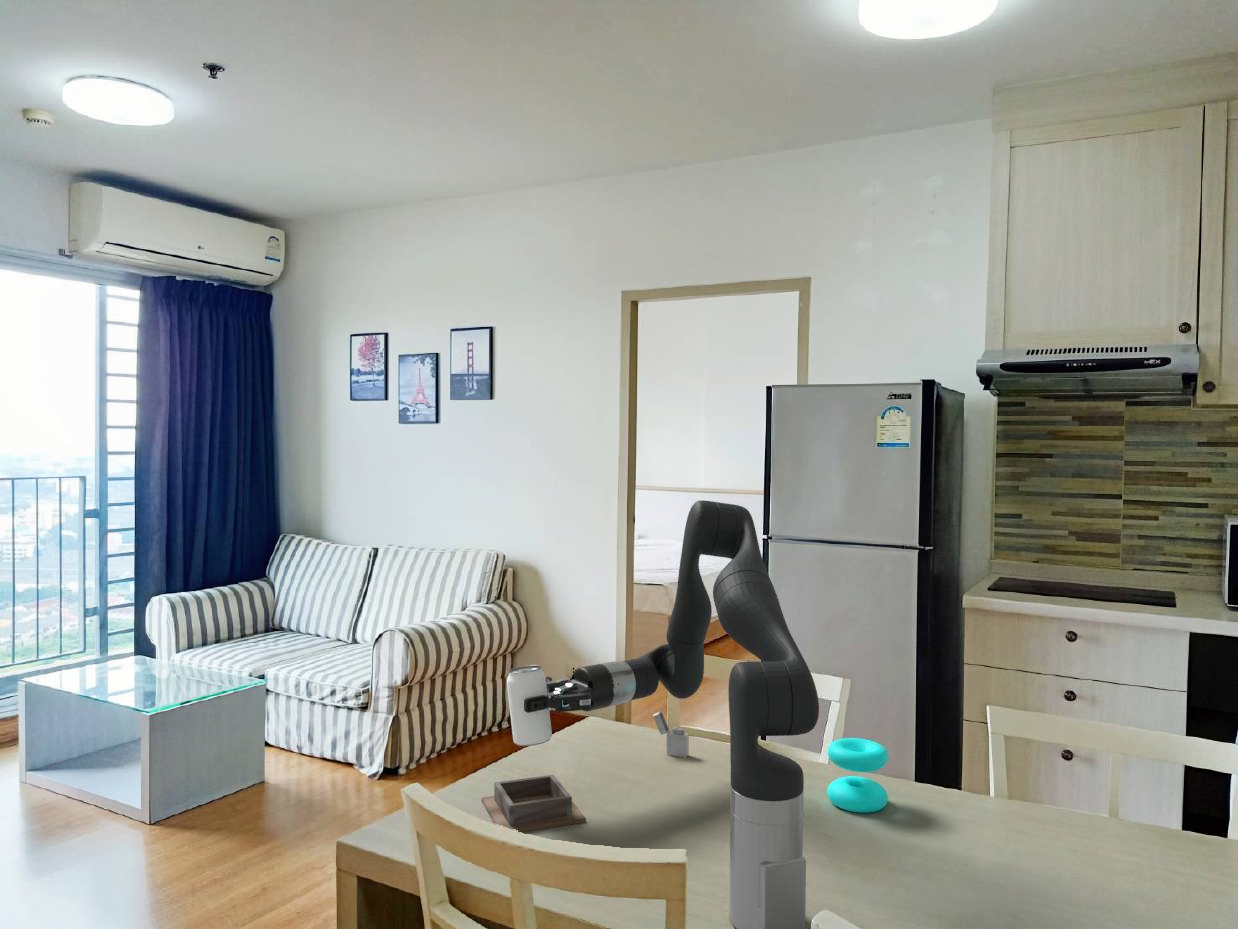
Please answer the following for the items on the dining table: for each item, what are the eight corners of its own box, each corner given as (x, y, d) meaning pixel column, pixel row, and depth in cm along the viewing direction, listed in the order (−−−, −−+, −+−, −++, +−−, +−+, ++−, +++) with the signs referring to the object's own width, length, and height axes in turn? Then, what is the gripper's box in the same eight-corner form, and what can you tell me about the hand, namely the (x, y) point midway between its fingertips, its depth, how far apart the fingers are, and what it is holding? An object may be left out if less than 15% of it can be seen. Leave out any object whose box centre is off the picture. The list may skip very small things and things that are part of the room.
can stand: (585, 821, 141) (585, 799, 141) (500, 835, 136) (500, 812, 136) (560, 790, 154) (560, 769, 154) (481, 801, 149) (481, 780, 149)
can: (546, 745, 142) (537, 671, 142) (508, 747, 143) (500, 674, 143) (557, 734, 148) (548, 663, 148) (520, 736, 149) (512, 666, 150)
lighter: (688, 755, 172) (689, 714, 172) (685, 758, 171) (686, 717, 171) (655, 749, 175) (656, 710, 175) (652, 752, 174) (652, 712, 174)
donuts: (816, 739, 152) (863, 733, 156) (815, 796, 152) (862, 788, 156) (851, 758, 143) (901, 751, 146) (850, 819, 143) (900, 810, 147)
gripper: (581, 656, 159) (497, 670, 149) (627, 672, 148) (540, 689, 137) (581, 697, 159) (497, 714, 149) (627, 716, 148) (540, 737, 138)
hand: (518, 702), depth 143 cm, fingers closed on can, 4 cm apart
